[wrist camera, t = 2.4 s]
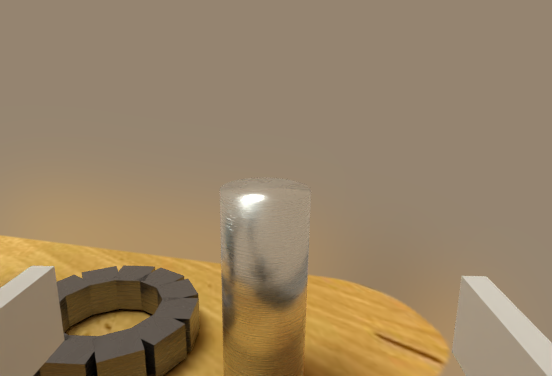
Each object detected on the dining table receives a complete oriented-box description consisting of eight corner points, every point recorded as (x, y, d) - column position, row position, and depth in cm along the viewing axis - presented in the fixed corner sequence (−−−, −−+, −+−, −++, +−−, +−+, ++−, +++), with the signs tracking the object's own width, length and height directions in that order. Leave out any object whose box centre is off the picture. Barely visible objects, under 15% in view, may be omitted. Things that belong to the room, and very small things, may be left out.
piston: (217, 400, 24) (212, 201, 21) (229, 345, 29) (227, 176, 25) (304, 404, 24) (313, 204, 20) (302, 348, 28) (309, 178, 25)
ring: (-36, 396, 24) (-44, 358, 23) (71, 290, 35) (68, 263, 35) (171, 405, 23) (169, 367, 23) (211, 295, 35) (211, 268, 34)
